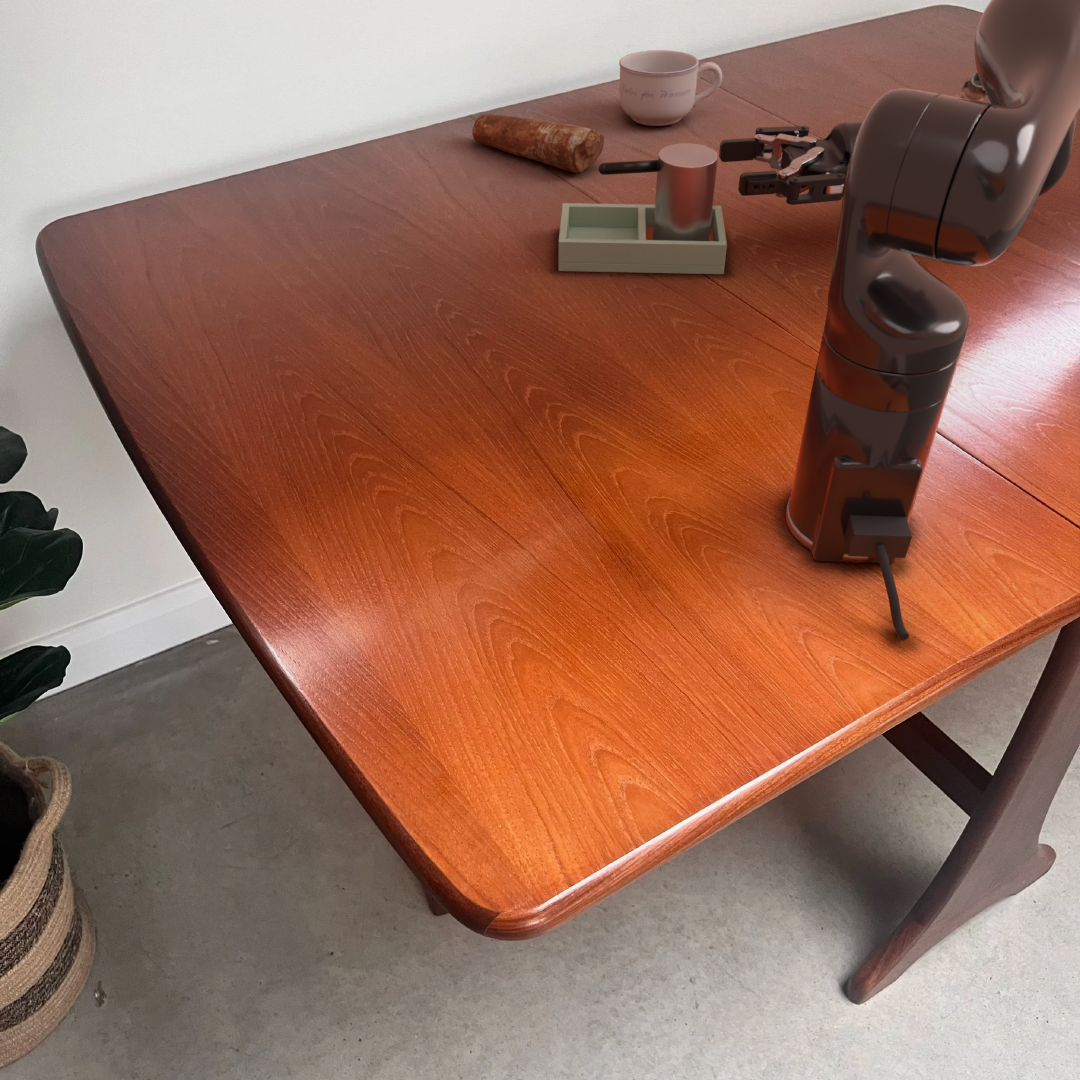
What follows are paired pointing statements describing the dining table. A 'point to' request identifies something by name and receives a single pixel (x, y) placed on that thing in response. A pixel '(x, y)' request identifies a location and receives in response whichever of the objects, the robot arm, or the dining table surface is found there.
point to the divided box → (633, 242)
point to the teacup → (662, 85)
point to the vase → (973, 89)
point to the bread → (541, 140)
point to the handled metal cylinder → (678, 189)
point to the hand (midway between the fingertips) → (729, 167)
